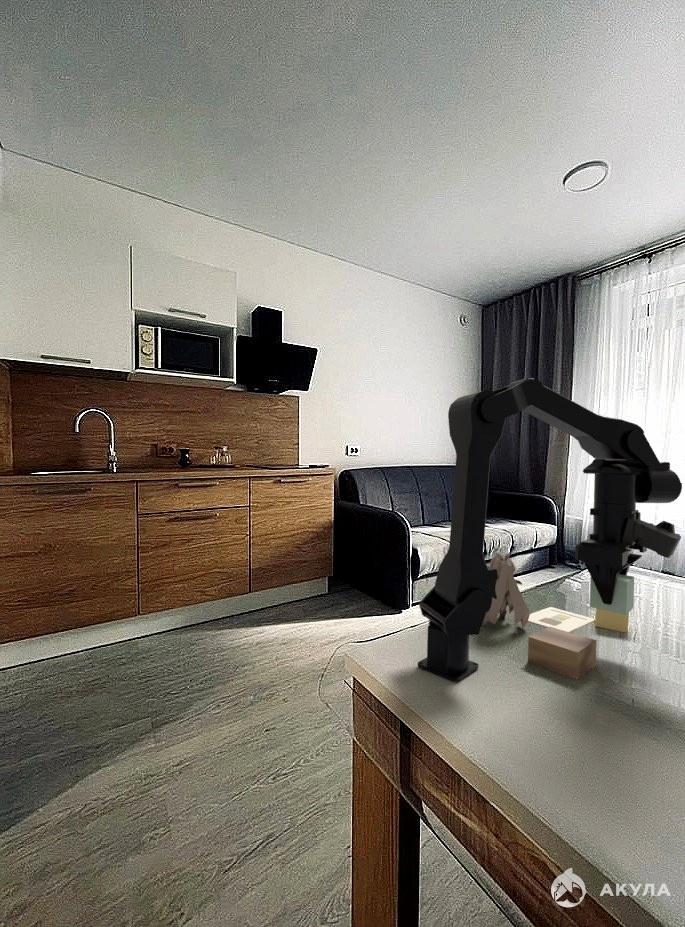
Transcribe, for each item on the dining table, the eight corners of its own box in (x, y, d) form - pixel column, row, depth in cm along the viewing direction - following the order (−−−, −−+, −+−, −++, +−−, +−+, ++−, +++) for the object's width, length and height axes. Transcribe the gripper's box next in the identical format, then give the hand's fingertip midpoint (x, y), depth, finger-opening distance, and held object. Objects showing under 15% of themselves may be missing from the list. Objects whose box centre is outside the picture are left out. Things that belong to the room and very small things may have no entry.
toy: (517, 612, 88) (526, 543, 83) (529, 641, 80) (540, 567, 75) (470, 609, 89) (476, 541, 84) (478, 638, 81) (485, 564, 76)
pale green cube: (626, 615, 68) (627, 582, 68) (589, 607, 71) (590, 575, 71) (633, 607, 71) (634, 576, 71) (598, 600, 75) (599, 570, 75)
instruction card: (566, 633, 79) (566, 632, 79) (519, 618, 86) (519, 617, 86) (596, 620, 86) (596, 619, 86) (550, 607, 93) (550, 606, 93)
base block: (576, 681, 62) (577, 652, 62) (527, 663, 67) (528, 636, 67) (595, 667, 66) (596, 640, 66) (548, 651, 72) (549, 626, 72)
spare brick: (627, 632, 80) (629, 605, 80) (595, 626, 82) (597, 599, 82) (625, 624, 84) (627, 598, 84) (594, 618, 87) (596, 592, 87)
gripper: (666, 511, 59) (663, 629, 59) (685, 504, 72) (682, 600, 72) (575, 504, 67) (572, 608, 67) (607, 499, 80) (605, 586, 80)
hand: (611, 600), depth 71 cm, fingers closed on pale green cube, 5 cm apart
